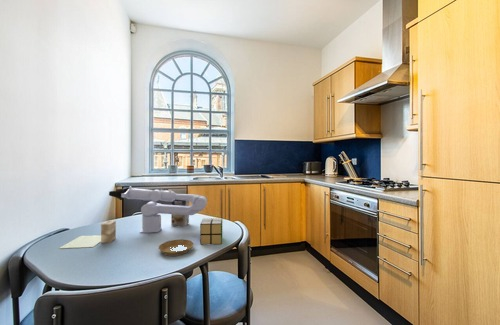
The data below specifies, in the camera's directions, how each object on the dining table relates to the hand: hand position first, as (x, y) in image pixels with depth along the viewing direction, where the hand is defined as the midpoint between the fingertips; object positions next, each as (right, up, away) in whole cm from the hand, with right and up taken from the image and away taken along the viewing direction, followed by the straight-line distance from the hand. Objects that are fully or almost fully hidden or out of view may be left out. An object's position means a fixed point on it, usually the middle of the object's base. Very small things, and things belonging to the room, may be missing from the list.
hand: (112, 192), depth 125 cm
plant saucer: (+42, -23, -24) cm, 54 cm away
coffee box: (+32, -22, +15) cm, 42 cm away
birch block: (+6, -22, -13) cm, 26 cm away
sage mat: (-4, -22, -14) cm, 26 cm away
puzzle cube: (+56, -23, -12) cm, 62 cm away
